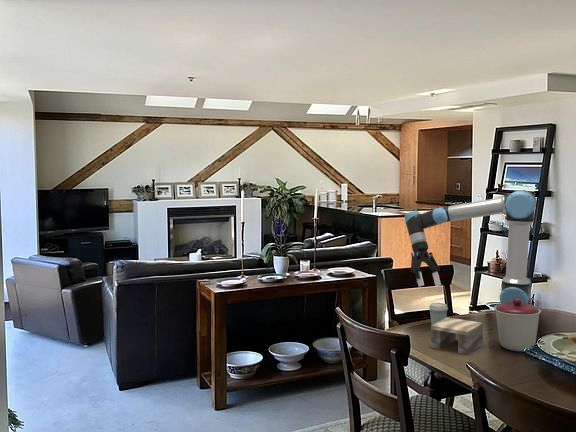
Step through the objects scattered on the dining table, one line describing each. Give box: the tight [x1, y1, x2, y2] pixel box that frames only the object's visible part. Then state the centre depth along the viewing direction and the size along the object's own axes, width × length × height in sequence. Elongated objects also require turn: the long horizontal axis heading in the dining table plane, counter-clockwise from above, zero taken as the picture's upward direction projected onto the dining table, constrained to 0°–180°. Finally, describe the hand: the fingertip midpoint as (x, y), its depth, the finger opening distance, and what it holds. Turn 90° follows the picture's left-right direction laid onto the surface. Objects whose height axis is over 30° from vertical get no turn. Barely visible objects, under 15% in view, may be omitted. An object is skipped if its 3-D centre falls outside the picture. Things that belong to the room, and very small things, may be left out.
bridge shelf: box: [430, 316, 484, 356], centre depth 235 cm, size 16×16×10 cm
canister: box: [493, 298, 542, 352], centre depth 230 cm, size 18×18×21 cm
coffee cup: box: [428, 302, 449, 325], centre depth 260 cm, size 8×8×12 cm
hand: (430, 285), depth 260 cm, fingers open, 13 cm apart
